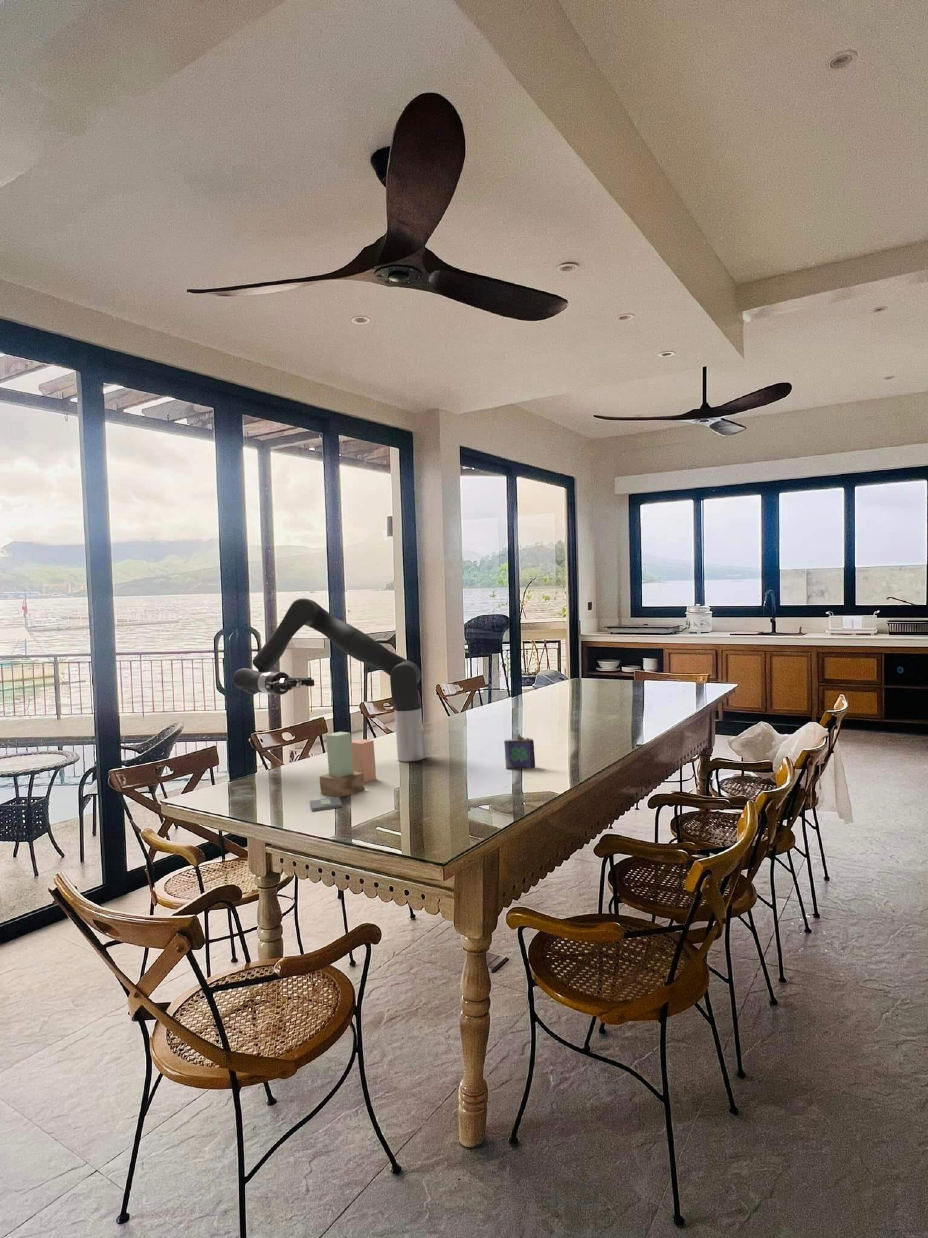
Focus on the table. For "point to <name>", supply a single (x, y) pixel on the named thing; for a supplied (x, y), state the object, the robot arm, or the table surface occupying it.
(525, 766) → the flask
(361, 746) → the terracotta pillar
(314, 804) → the tile
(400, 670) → the robot arm
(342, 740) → the sage pillar
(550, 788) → the table surface
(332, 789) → the walnut base
